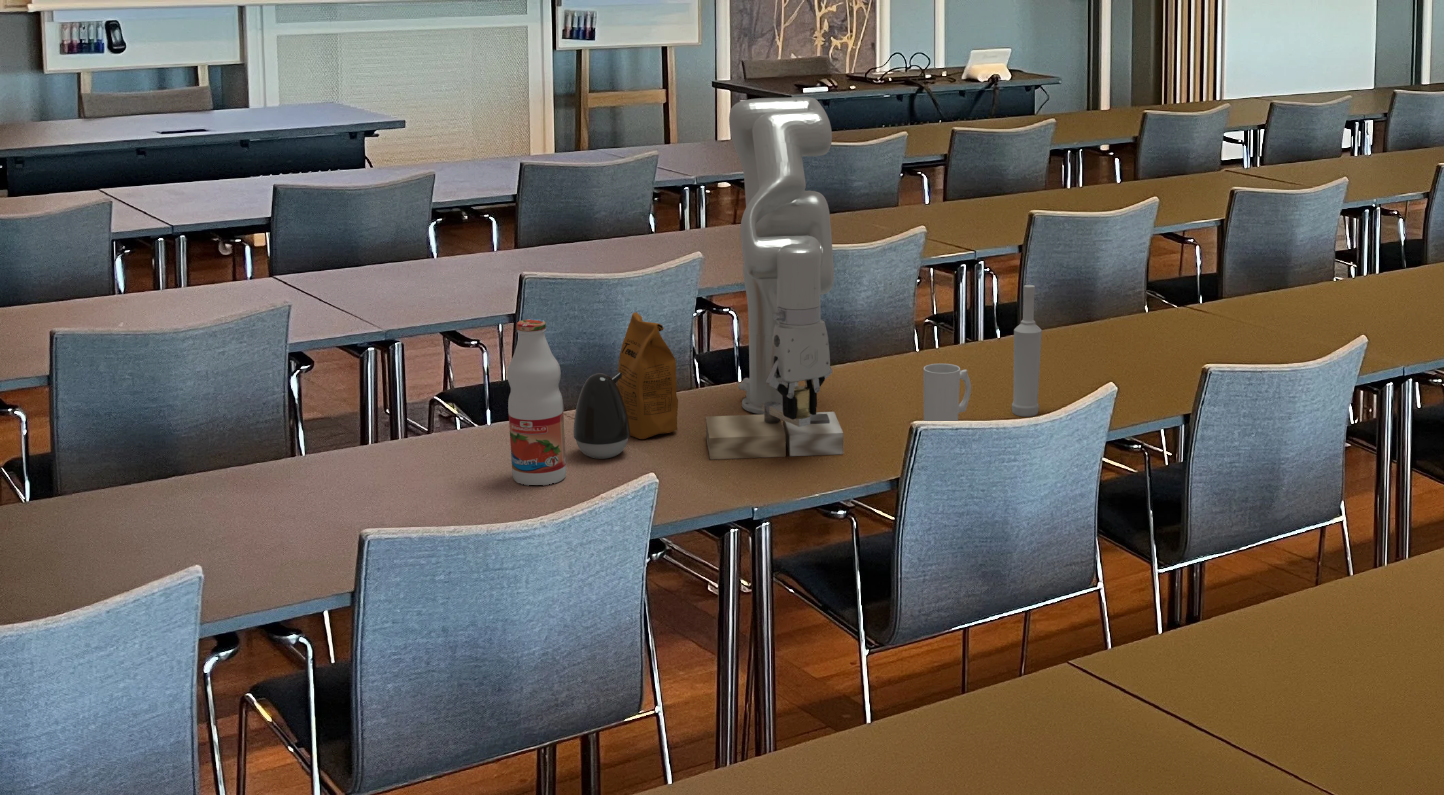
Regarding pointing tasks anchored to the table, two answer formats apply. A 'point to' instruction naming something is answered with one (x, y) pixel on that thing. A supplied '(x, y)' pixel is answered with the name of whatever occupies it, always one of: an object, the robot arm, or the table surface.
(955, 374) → the mug
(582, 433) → the pump dispenser
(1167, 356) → the table surface
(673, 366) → the coffee package
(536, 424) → the fruit juice
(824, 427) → the stone-look twin blocks
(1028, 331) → the bottle
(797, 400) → the bar
